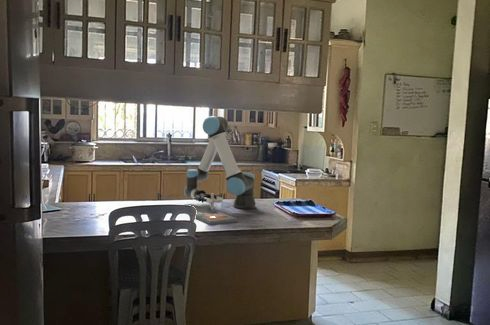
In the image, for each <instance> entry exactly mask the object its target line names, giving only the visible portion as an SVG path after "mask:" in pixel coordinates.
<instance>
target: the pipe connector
mask: <svg viewBox="0 0 490 325" xmlns="http://www.w3.org/2000/svg"><path fill="white" fill-rule="evenodd" d="M210 195H211V199H210V203H208V204H209V205H210V210H214V208H215V207H214V203H216V204H217V203H218V204H220V203H221V202H220V200H216V199H215V198H214V195H215V193H214V192H211V193H210Z"/></svg>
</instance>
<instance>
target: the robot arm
mask: <svg viewBox="0 0 490 325" xmlns="http://www.w3.org/2000/svg"><path fill="white" fill-rule="evenodd" d="M228 129H229V124H228V121H227V119H226V118H225V117H223V116H217V115H216V116H215V115H211V116H208V117H206V118H205V119H204V121H203V123H202V130H203V132H204V133H205V134H207V136H208V138H209V141H208V143H207V146H206V148H205V150H204V154H203V156H202V158H201V160H200V163H199V166H198V167H197V169H195V168H191V169H187V170H186V186H185V187H184V190H183V194H184V196H186V197H187V198H189V199H193V200H195V201H197V202H201V203H203V204H204V203H206V204H209V203H210V199H211V193H207V192H206V191H205V190H203V189H200V188H198V184H199V183H202V182H204V181H206V180H208V179H209V171H210V169H211V166H212V164H213V162H214V161H215V160H214V159H215V157H216V155H217V154H218V157H219V158H220V161H221V162H220V163H221V164H222V167H223V169H224V171H225V174H226V175H225V181H226V185H225V188H226V190H227V192H228V193H229V194H230V195H233V196H235V198H234V201H233V205H232V206H233V207H234V208H236V209H244V210H246V209H247V210H248V209H249V210H251V209H255V208H257V205H256V200H255V196H254V195H255V194H254V192H255V174H253V173H245V172H243V171H242V170H240V169H239V167H238V164H237V162H236V159H235V156H234V154H233V152H232V150H231V147H230V144H229V141H228V140H227V137H226V135H227V132H228ZM214 198H215V199H216V200H220V203H223V202H224V201H223V200H224V198H223V197H221V195H217V194H214Z"/></svg>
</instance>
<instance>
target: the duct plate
mask: <svg viewBox="0 0 490 325" xmlns="http://www.w3.org/2000/svg"><path fill="white" fill-rule="evenodd" d="M195 215H196V218H195V219H196V220H198V221H200V222H202V221H203V222H202V223H205V224H207V225H209V226H212V225H220V224H229V223H230V224H231V223H237V221H238V218H236V217H234V216H231V215H228V214H226V213H224V212H208V213H200V214H199V213H197V214H195Z"/></svg>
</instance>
